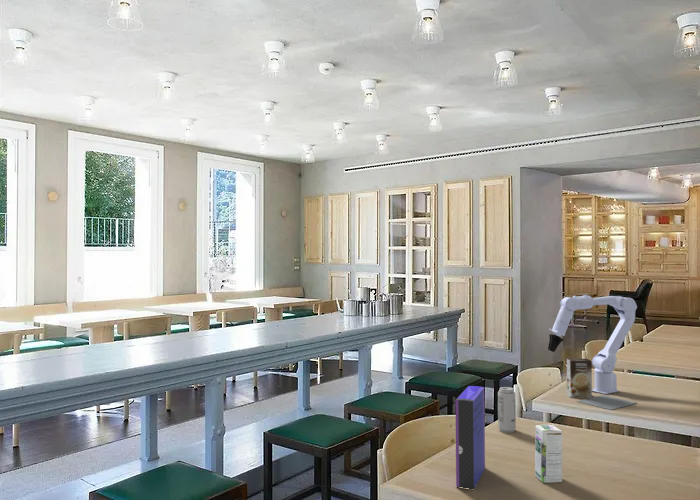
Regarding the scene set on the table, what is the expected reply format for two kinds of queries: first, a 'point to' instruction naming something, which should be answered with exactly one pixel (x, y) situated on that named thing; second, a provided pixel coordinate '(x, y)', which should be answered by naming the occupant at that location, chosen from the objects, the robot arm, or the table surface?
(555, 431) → the syrup box
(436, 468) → the table surface
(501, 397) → the energy drink can
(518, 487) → the table surface
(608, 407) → the mat
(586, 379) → the coffee box
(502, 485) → the table surface
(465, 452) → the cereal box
